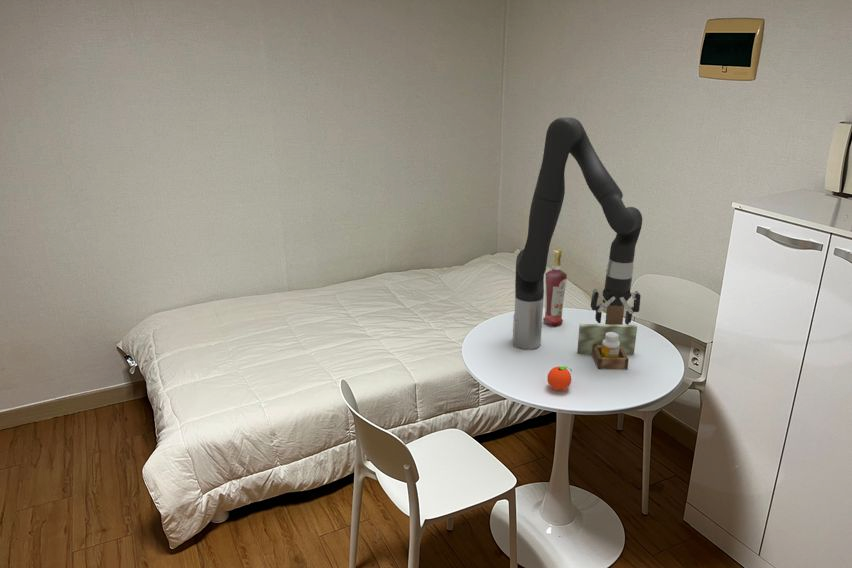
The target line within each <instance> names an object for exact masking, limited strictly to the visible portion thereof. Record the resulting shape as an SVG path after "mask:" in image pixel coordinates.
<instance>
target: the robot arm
mask: <svg viewBox="0 0 852 568" xmlns="http://www.w3.org/2000/svg"><path fill="white" fill-rule="evenodd" d="M546 130H547V131H546V135H545V140H544V148H543V154H542V155H543V156H542V160H541V161H542V162H541V164H540V165H541V166H540V169H539V173H538V177H537V179H536V180H537V181H536V185H535V187H534V191H533V195H532V200H531V204H530V210H529V218H528V229H527V236H526V242H525V245H524V248H523V249H521V250H520V252H518V254H517V256H516V261H515V280H514V281H515V282H514V283H515V284H514V286H515V288H514V289H515V291H514V314H513V322H512V344H513V347H514V348H518V349H521V350H536V349H538V348H540V347H541V342H542V329H543V310H544V298H545V297H544V295H545V294H544V293H545V283H544V281H545V280H544V279H545V276H544V275H545V274H546V271H547V265H548V257H549V251H550V246H551V241H552V238H553V236H554V233H555V230H556V226H557V223H558V220H559V217H560V214H561V210H562V207H563V203H564V200H565V194H566V192H565V191H566V184H565V178H566V177H565V172H566V164H567V161H568V158H569V154H570V155H571V156H572V157H573V158H574V160H575V161H576V163H577V165H578V166H579V168H580V170H581V173H582V175H583V178H584V180H585V183H586V185H587V187H588V189H589V190H590V192H591V193H592V194H593V196H594V198H595V199H596V200H597V202H598V203H599V205H600V207H601V209H602V211H603V215H604V216H605V219H606V222H607V223H608V225H609V227H610V228H611V230H612V231H613V232H615V233H616V234H615V238H614V239H613V240H612V242H611V245H610V247H609V249H610V250H609V256H608V262H607V265H606V266H607V267H606V271H605V272H606V273H605V281H604V288H603V290H597V289H595V288H594V289H593V290H592V296H591V301H590V308H591V310H592V311H595V318H594V319H595V321H596V322H597V324H601V322H602V321H601V320H602V315H603V314H602V311H604V310H605V309H607V306H608V305H610V306H615V305H616V306H621V305H624V309H626V310H627V311H626V312H625V317H624V323H625V324H624V325H630V323H631V321H632V318H633V314H634V313H639V312H640V307H641V297H642V296H641V293H640V292H639V291H637V290H636V291H635V292H631V288H632V287H631V286H632V280H633V274H634V262H635V261H634V259H635V254H636V253H635V252H636V245H637V243H638V240H639V236H640V233H641V230H642V227H643V215H642V213H641V211H640V210H639V209H638V208H636V207H633V206H628V207H627V206H626V205H625V203H624V202H623V198H624V197H623V195H624V194H623V192H622V190H621V188H620V187H619V186H618V184H617V183H616V181H615V180H614V178H613V177H612V175H611V174H610V173H609V171H608V170H607V168H606V167H605V166H604V163H603V162H602V160H601V159H600V157H599V156H598V154H597V152H596V151H595V149H594V146H593V145H592V143H591V140H590V138H589V136H588V134H587V132H586V130H585V127H584V126H583V124H582V123H581V121H580V120H579V119H577V118H574V117H558V118H556V119H554V120H553V121H552V122H550V124H549V125H548V127H547V129H546ZM601 296H602V297H603V298H602V300H601V301H600V302H599V304H598V299H600V298H601ZM631 297H632V299H633V306H632V307H631V306H630V305H629V303H628V300H629V299H630V298H631ZM597 304H598V305H597Z"/></svg>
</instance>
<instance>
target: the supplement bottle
mask: <svg viewBox="0 0 852 568" xmlns="http://www.w3.org/2000/svg"><path fill="white" fill-rule="evenodd" d="M618 337H619V335H618V334H617V333H614V332H607V333H606V334H605V339H604V340H603V341H602V350H601V357H605V358H619V349H620V342H619V341H618Z"/></svg>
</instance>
